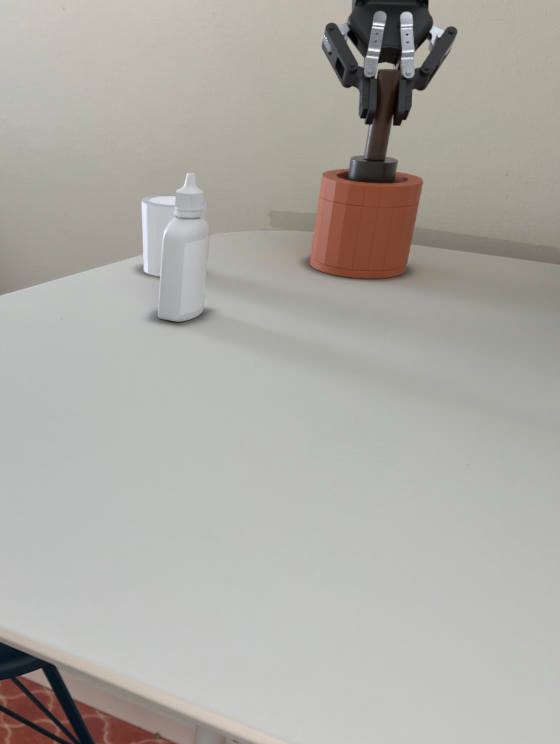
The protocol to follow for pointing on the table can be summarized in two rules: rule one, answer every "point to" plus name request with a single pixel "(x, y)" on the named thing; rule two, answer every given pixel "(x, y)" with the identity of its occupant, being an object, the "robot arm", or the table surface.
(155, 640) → the table surface
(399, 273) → the jar
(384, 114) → the brush
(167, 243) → the eye dropper bottle
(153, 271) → the white cup
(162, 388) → the table surface
